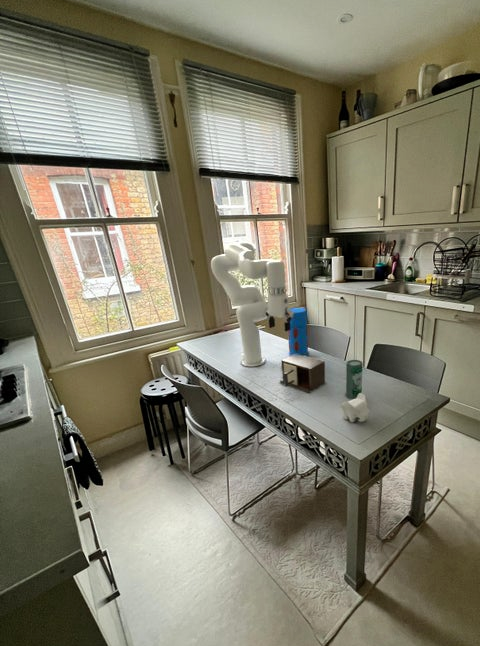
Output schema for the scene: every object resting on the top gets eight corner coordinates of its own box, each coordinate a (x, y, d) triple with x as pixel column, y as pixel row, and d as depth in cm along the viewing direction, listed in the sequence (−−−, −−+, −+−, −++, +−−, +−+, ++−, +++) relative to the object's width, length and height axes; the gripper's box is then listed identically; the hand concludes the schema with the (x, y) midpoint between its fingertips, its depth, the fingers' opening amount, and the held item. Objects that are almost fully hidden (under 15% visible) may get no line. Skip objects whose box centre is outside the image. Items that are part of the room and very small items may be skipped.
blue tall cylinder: (306, 357, 175) (304, 312, 165) (287, 356, 177) (284, 312, 167) (309, 350, 185) (308, 307, 174) (291, 349, 187) (289, 307, 177)
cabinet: (280, 383, 147) (278, 361, 143) (296, 374, 155) (295, 353, 151) (309, 393, 137) (308, 370, 132) (325, 383, 145) (324, 361, 141)
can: (357, 400, 130) (358, 366, 124) (344, 396, 133) (344, 364, 127) (363, 393, 135) (364, 361, 128) (349, 390, 138) (350, 358, 131)
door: (276, 385, 142) (275, 367, 139) (285, 380, 147) (284, 363, 143) (288, 390, 138) (287, 371, 134) (297, 385, 142) (296, 366, 138)
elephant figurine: (360, 430, 110) (361, 409, 107) (335, 417, 119) (335, 397, 115) (376, 419, 116) (378, 398, 113) (351, 408, 124) (351, 388, 121)
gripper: (297, 291, 134) (299, 329, 141) (269, 287, 144) (272, 324, 151) (285, 294, 129) (288, 334, 136) (257, 290, 139) (260, 328, 146)
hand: (279, 328), depth 143 cm, fingers open, 9 cm apart
